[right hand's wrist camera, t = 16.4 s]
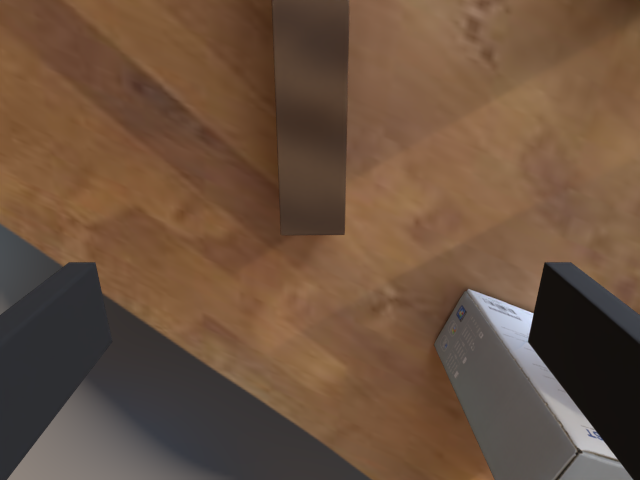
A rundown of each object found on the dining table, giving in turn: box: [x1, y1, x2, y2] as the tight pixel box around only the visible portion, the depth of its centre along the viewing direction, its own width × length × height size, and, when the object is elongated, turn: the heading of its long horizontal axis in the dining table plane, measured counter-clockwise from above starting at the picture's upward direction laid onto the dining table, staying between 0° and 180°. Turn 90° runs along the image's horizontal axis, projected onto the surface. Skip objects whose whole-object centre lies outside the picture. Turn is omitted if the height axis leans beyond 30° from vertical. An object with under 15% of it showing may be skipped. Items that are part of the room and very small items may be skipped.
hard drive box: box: [434, 289, 633, 480], centre depth 36 cm, size 16×8×20 cm, turn 68°
